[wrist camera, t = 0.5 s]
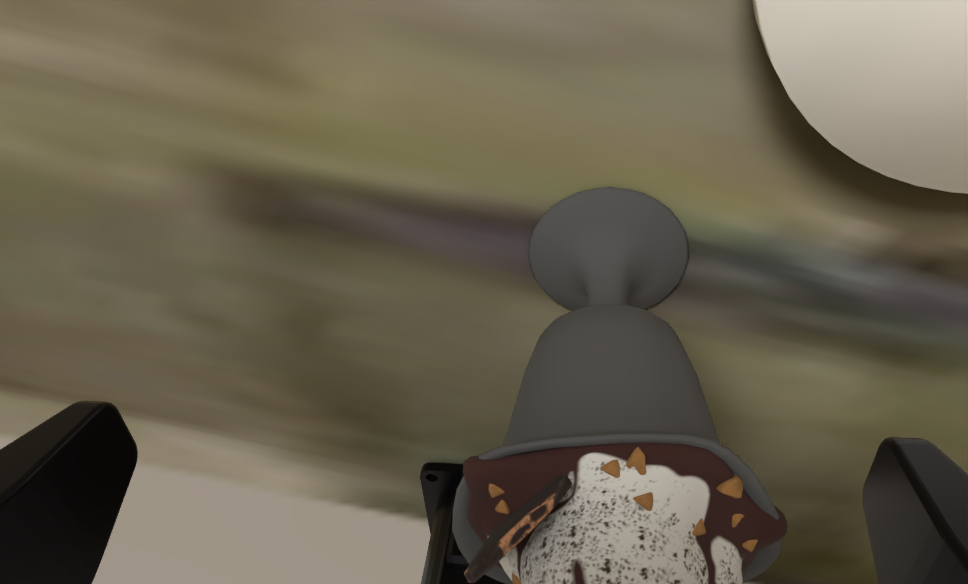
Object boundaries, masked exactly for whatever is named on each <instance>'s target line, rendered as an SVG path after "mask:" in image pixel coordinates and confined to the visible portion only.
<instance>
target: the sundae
mask: <svg viewBox="0 0 968 584" xmlns="http://www.w3.org/2000/svg"><path fill="white" fill-rule="evenodd" d="M528 257H529V262H530V267H531V270H532V272H533V275H534V278H535V280H536V281H537V282H538V284H539V285H540V286H541V288H542V289H543V290H544V291H545V292H546V293H547V294H548V295H549V296H550V297H551V298H552V299H553V300H554V301H556V302H557V303H559V304H561V305H562V306H564V307H566V308H568V309H570V310H572V312H569V313H567V314H565V315H562V316H560V317H559V318H557V319H556V320H554V321H553V322H552V323H551V324H550V325H549V326H548V327H547V329H546V330H545V331H544V332H543V333H542V334H541V336H540V338H539V340H538V342H537V344H536V346H535V349H534V351H533V354H532V356H531V358H530V361H529V363H528V365H527V368H526V370H525V373H524V376H523V380H522V383H521V387H520V390H519V394H518V397H517V401H516V404H515V408H514V411H513V415H512V418H511V422H510V425H509V429H508V432H507V434H506V437H505V439H504V442H503V444H502V446H501V447H497V448H494V449H492V450H490V451H488V452H486V453H483V454H481V455H479V456H478V457H474V456H473V457H470V458H469V459H467V460H466V461H465V462H464V464H463V475H464V476H463V478H462V480H461V482H460V484H459V486H458V488H457V491H456V496H455V501H454V506H453V519H452V531H453V534H454V537H455V540H456V543H457V546H458V548H459V550H460V551H461V553H462V554H463V556H464V557H465V559H466V561H467V562H468V563H469V566H468V567H467V569H466V571H465V572H464V575H465V577H466V579H467V581H468V582H470V583H475V582H476V581H477V580H479V579H480V578H481V577H482V576H483V575H484V574H485V575H487V576H489V577H491V578H493V579H495V580H497V581H499V582H502V583H505V584H742V583H744V582H746V581H748V580H750V579H752V578H754V577H756V576H758V575H760V574H761V573H763V572H764V571H765V570H767V569H768V568H769V567H770V566H771V565H772V564H773V562H774V561H775V560H776V559H777V557H778V556H779V555H780V551H781V542H782V537H783V536H784V535H785V533H786V531H787V521H786V518H785V516H784V514H783V513H782V512H781V511H780V510H779V509H778V508H777V507H774V505H773V503H772V501H771V499H770V497H769V495H768V494H767V492H766V490H765V489H764V487H763V486H762V484H761V483H760V481H759V480H758V478H757V477H756V476H755V474H754V473H753V471H752V470H751V468H750V467H749V466H748V465H747V464H746V463H745V462H743V461H742V460H741V459H740V458H739V457H738V456H737V455H736V454H735V453H734V452H733V451H732V450H731V449H729V448H727V447H725V446H724V445H722V444H720V443H719V440H718V437H717V434H716V431H715V428H714V425H713V422H712V419H711V416H710V413H709V410H708V407H707V404H706V401H705V398H704V395H703V392H702V389H701V386H700V383H699V380H698V377H697V374H696V372H695V370H694V368H693V366H692V364H691V362H690V360H689V358H688V356H687V354H686V352H685V350H684V348H683V346H682V344H681V342H680V340H679V338H678V336H677V335H676V333H675V332H674V330H673V329H672V327H671V326H670V325H669V324H668V323H667V322H665V321H664V320H663V319H661V318H659V317H657V316H655V315H654V314H652V313H650V312H648V311H647V310H644V309H646V308H648V307H650V306H652V305H654V304H656V303H658V302H660V301H661V300H662V299H663V298H664V297H666V296H667V295H668V294H669V293H670V292H671V291H672V290H673V289H674V287H675V286H676V285H677V284H678V283H679V281H680V279H681V277H682V275H683V273H684V271H685V268H686V265H687V262H688V258H689V254H688V241H687V236H686V232H685V230H684V228H683V227H682V225H681V223H680V221H679V220H678V219H677V217H676V216H675V215H674V213H673V212H672V211H671V210H670V209H669V208H668V207H666V206H665V205H663V204H662V203H661V202H659V201H658V200H656V199H654V198H652V197H650V196H648V195H646V194H644V193H641V192H637V191H633V190H629V189H622V188H614V187H608V188H598V189H591V190H587V191H582V192H578V193H576V194H574V195H572V196H570V197H567V198H565V199H563V200H562V201H560V202H559V203H557V204H556V205H554V206H552V207H551V208H550V209H549V210H548V211H547V212H546V213H545V214H544V216H543V217H542V218H541V219H540V221H539V222H538V224H537V225H536V226H535V228H534V229H533V233H532V236H531V239H530V244H529V251H528Z"/></svg>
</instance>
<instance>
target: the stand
mask: <svg viewBox="0 0 968 584" xmlns="http://www.w3.org/2000/svg"><path fill="white" fill-rule="evenodd" d="M752 2H753V8H754V13H755V19H756V23H757V26H758V29H759V32H760V34H761V37H762V40H763V43H764V46H765V49H766V52H767V54H768V56H769V58H770V61H771V63H772V65H773V67H774V69H775V71H776V72H777V74H778V76H779V78H780V80H781V82H782V84H783V86H784V88H785V90H786V92H787V94H788V95H789V97H790V99H791V100H792V101H793V103H794V104H795V105H796V107H797V108H798V109H799V111H800V112H801V113H802V115H803V116H804V117H805V119H806V120H807V121H808V123H809V124H810V125H811V126H812V127H814V128H815V129H816V130H817V131H818V132H819V133H820V134H821V135H822V136H823V137H824V138H825V139H826V140H827V141H828V142H829V143H830V144H831V145H833V146H834V147H836V148H837V149H839V150H840V151H842V152H843V153H845V154H846V155H847V156H849V157H850V158H852V159H853V160H855V161H856V162H858V163H860V164H862V165H864V166H866V167H868V168H870V169H872V170H874V171H877V172H879V173H881V174H883V175H885V176H887V177H890V178H894V179H897V180H900V181H903V182H906V183H909V184H912V185H915V186H919V187H925V188H930V189H936V190H941V191H946V192H952V193H967V194H968V0H752Z"/></svg>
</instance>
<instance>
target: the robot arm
mask: <svg viewBox="0 0 968 584" xmlns="http://www.w3.org/2000/svg"><path fill="white" fill-rule="evenodd" d="M136 463H137V446H136V443H135V441H134V439H133V437H132V435H131V433H130V432H129V430H128V428H127V426H126V424H125V422H124V420H123V418H122V416H121V415H120V413H119V411H118V409H117V408H116V407H115V406H114V405H113V404H111V403H109V402H100V401H80V402H76V403H74V404H72V405H70V406H69V407H67V408H65V409H64V410H62V411H61V412H59V413H58V414H56V415H54V416H53V417H51V418H50V419H48V420H46V421H45V422H43V423H42V424H40V425H39V426H37V427H35V428H34V429H32V430H31V431H29V432H27V433H26V434H24V435H23V436H21V437H20V438H18V439H16V440H15V441H13V442H12V443H10V444H8V445H7V446H5V447H4V448H2V449H1V450H0V584H91V583H92V581H93V579H94V577H95V574H96V572H97V569H98V567H99V564H100V562H101V559H102V556H103V554H104V551H105V548H106V546H107V543H108V540H109V538H110V535H111V532H112V529H113V527H114V524H115V521H116V518H117V516H118V513H119V510H120V507H121V505H122V502H123V499H124V496H125V494H126V491H127V488H128V486H129V483H130V480H131V477H132V475H133V471H134V469H135V466H136ZM463 476H464V475H463V465H462V464H446V463H426V464H424V465H423V466H422V470H421V475H420V479H421V484H422V490H423V495H424V501H425V506H426V512H427V517H428V523H429V528H430V533H431V537H430V542H429V546H428V552H427V556H426V562H425V566H424V571H423V576H422V581H421V584H505V583H502V582H499V581H497V580H495V579H493V578H491V577H489V576H487V575H485V574H484V575H483V576H482V577H481V578H480V579H479V580H477V581H476V582H475V583H470V582H468V581H467V579H466V577H465V575H464V572H465V571H466V569H467V567H468V566H469V563H468V562H467V561H466V559H465V557H464V556H463V554H462V553H461V551H460V550H459V548H458V546H457V543H456V540H455V537H454V534H453V531H452V519H453V506H454V501H455V496H456V491H457V488H458V486H459V484H460V482H461V480H462V478H463ZM863 505H864V511H865V516H866V521H867V527H868V532H869V537H870V542H871V547H872V552H873V558H874V563H875V568H876V573H877V578H878V583H879V584H968V474H967V473H966V472H964V471H963V470H962V469H961V468H960V467H959V466H958V465H957V464H955V463H954V462H953V461H952V460H951V459H950V458H949V457H947V456H946V455H945V454H944V453H943V452H942V451H941V450H939V449H938V448H937V447H936V446H935V445H934V444H932V443H931V442H929V441H927V440H924V439H919V438H898V437H890V438H886V439H885V440H883V441H882V442H881V444H880V446H879V448H878V451H877V453H876V456H875V458H874V461H873V463H872V466H871V468H870V471H869V474H868V476H867V479H866V481H865V484H864V489H863Z"/></svg>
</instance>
